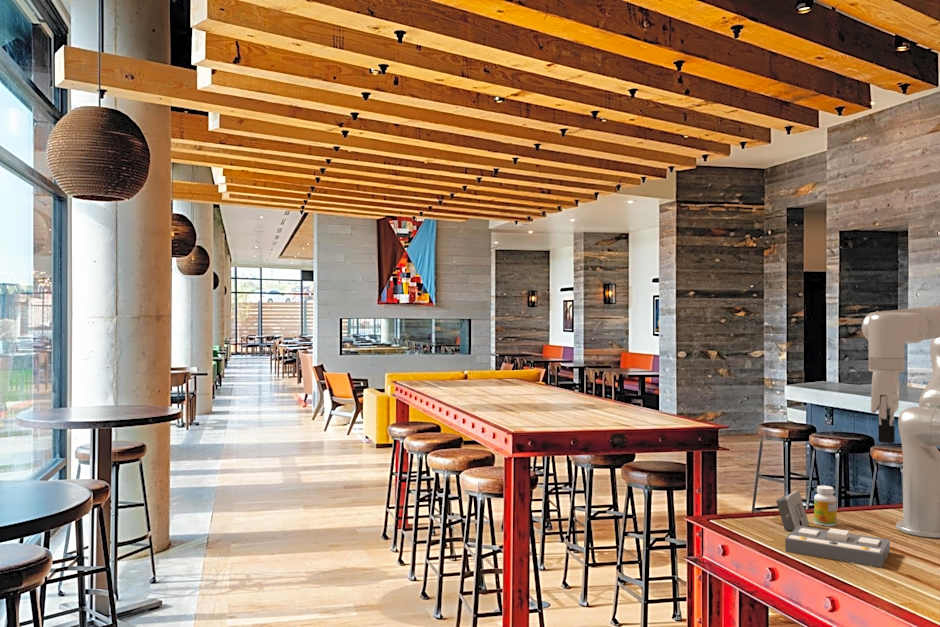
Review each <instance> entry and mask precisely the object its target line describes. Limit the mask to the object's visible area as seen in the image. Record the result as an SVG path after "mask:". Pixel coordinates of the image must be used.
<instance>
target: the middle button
mask: <svg viewBox="0 0 940 627" xmlns="http://www.w3.org/2000/svg"><path fill="white" fill-rule="evenodd" d="M828 530H829V531H828V532H827V539H831V540H837V541H843V542H848V540H849V533H850V530H846V529H845V530H844V529H841V528H840V529H839V528H832V527H829V529H828Z"/></svg>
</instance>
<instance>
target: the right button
mask: <svg viewBox="0 0 940 627" xmlns="http://www.w3.org/2000/svg"><path fill="white" fill-rule="evenodd" d="M858 544H862V545H869V546H875V547H879V546H880V540H877V539H871V538H864V537H861V538H860V539H859V540H858Z"/></svg>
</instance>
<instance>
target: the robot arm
mask: <svg viewBox="0 0 940 627" xmlns="http://www.w3.org/2000/svg"><path fill="white" fill-rule="evenodd" d="M861 332H862V334H863V336H864V338H865V339H866V340H867V341H868V357H867V358H868V363H867V364H868V371H869V372H872V375H871V377H872V378H871V393H870V394H871V396H870V399H871V400H870V412H871V413H872V414H875V413H877V412H878V442H879V443H884V444H885V443H887V444H893V443H895V441H896V433H895V430H896V428H895V427H896V426H895V413H896V412H897V411H898V409H899V405H900V404H899V402H900V401H899V400H900V373H904V372H905V344H917V343H920V342H923V341H930V342H929V343H930V344H929V352H930V353H929V356H930V363H931V368H932V373H933V374H932V376H931V377H930V380H929V381H928V383H927V385H926V386H925V388H924V389H923V391H922V393H921V395H920V397H919V400H918V406H912V407H907V408H905V409H903V411H901V412H900V414H899V415H898V420H897V422H898V423H897V424H898V432H899V437H900V441H901V449H902V451H901V452H902V500H903V501H902V514H903V516H902V519H901V520H899V521H897V522H896V524H895V527H896V529H897V530H898V531H901V532H903V533H906V534H908V535H913V536H918V537H924V538H934V539H935V538H938V539H940V450H939V449H938V448H937V447H940V304H937V305H929V306H920V307H910V308H904V309H892V310H881V311H874V312H873V311H872V312H870V313H868V314H867V315H866V316H865V317H864V318H863V321H862V323H861Z"/></svg>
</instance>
